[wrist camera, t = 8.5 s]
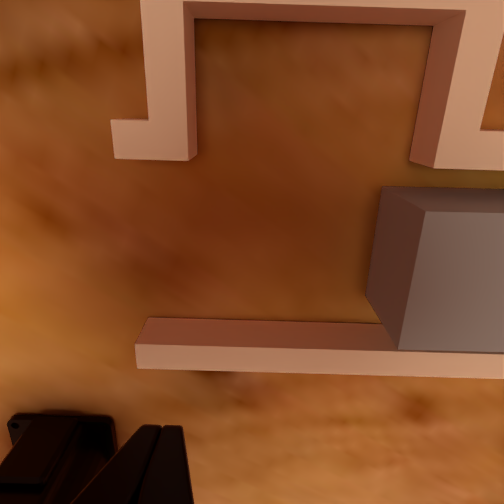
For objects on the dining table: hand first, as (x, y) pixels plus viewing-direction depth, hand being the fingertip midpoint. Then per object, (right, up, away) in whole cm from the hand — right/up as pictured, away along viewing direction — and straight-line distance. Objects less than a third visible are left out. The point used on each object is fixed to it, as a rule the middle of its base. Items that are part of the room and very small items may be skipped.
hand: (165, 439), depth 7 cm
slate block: (+12, +4, +11) cm, 17 cm away
